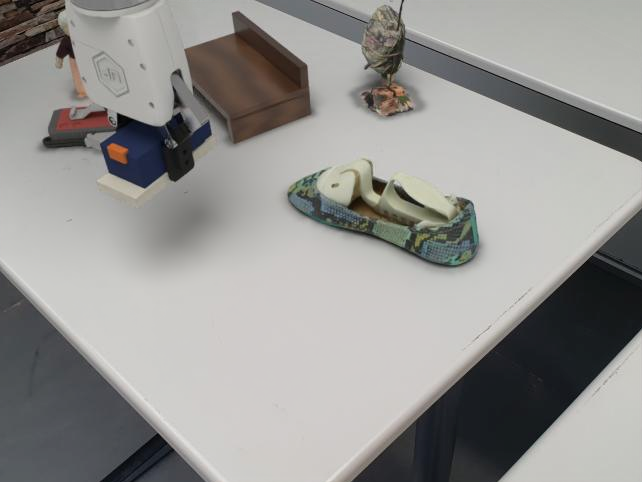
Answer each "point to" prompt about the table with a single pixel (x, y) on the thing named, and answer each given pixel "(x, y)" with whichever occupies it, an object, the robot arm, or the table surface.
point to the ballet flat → (391, 210)
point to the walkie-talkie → (79, 127)
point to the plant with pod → (385, 60)
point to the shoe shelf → (250, 79)
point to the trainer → (143, 160)
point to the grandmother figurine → (67, 49)
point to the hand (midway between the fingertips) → (159, 163)
